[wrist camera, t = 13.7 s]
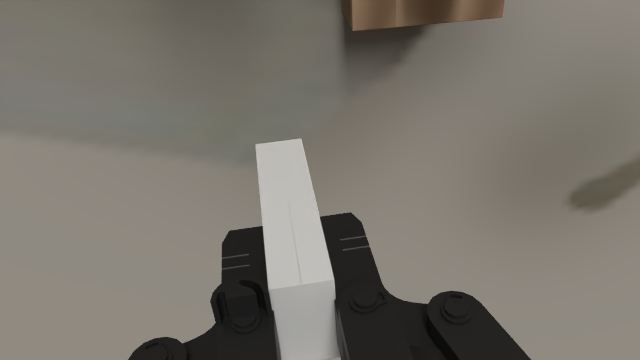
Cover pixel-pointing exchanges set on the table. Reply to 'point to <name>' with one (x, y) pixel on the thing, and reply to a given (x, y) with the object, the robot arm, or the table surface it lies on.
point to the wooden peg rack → (416, 12)
